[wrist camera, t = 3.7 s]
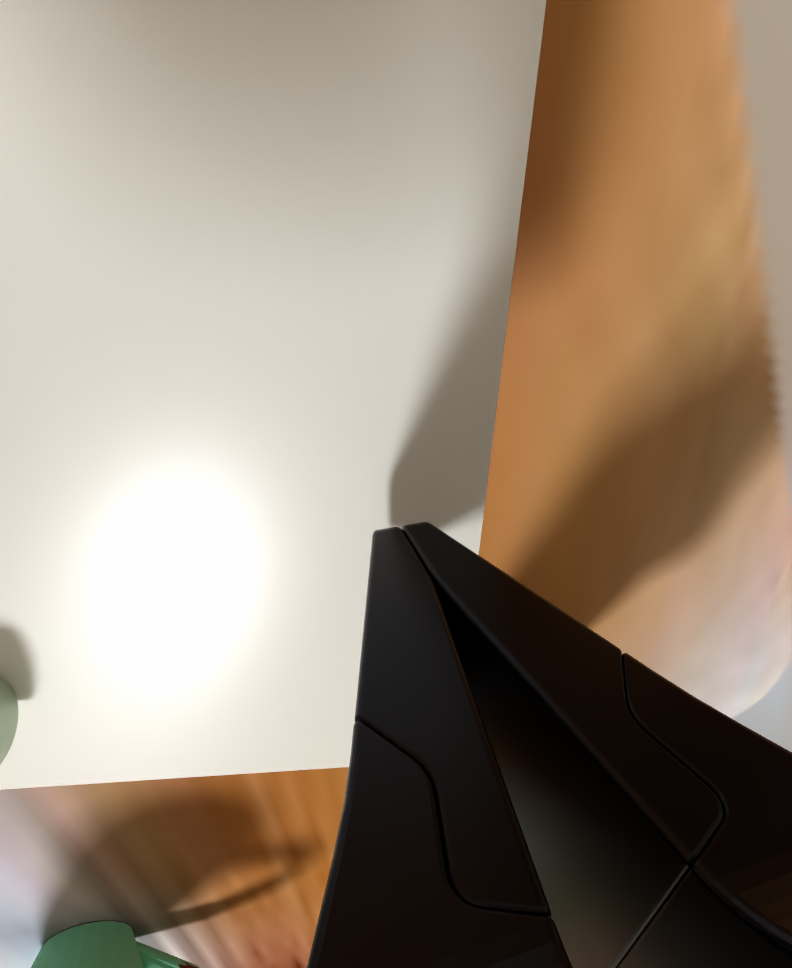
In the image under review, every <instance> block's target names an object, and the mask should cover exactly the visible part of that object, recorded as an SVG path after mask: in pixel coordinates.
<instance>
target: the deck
mask: <svg viewBox="0 0 792 968" xmlns="http://www.w3.org/2000/svg"><path fill="white" fill-rule="evenodd" d="M545 8H546V0H0V790H1V789H16V788H31V787H47V786H62V785H78V784H93V783H108V782H124V781H139V780H155V779H170V778H185V777H201V776H216V775H232V774H247V773H263V772H278V771H293V770H309V769H324V768H340V767H349V763H350V756H351V746H352V735H353V726H354V724H355V709H356V698H357V688H358V678H359V668H360V658H361V647H362V637H363V627H364V617H365V607H366V596H367V586H368V576H369V566H370V556H371V545H372V536H373V533H374V531H375V530H379V529H385V528H391V527H399V528H402V527H403V526H404V525H408V524H414V523H420V522H428V523H430V524H432V525H434V526H435V527H437V528H438V529H440V530H441V531H443V532H444V533H446V534H447V535H449V536H450V537H452V538H453V539H455V540H456V541H458V542H459V543H461V544H462V545H464V546H465V547H467V548H468V549H470V550H471V551H473V552H474V553H476V554H477V555H479V547H480V539H481V531H482V522H483V514H484V506H485V498H486V490H487V482H488V473H489V465H490V457H491V449H492V441H493V433H494V424H495V416H496V408H497V400H498V392H499V384H500V376H501V367H502V359H503V351H504V343H505V335H506V327H507V318H508V310H509V302H510V294H511V286H512V278H513V269H514V261H515V253H516V245H517V237H518V229H519V221H520V212H521V204H522V196H523V188H524V180H525V172H526V163H527V155H528V147H529V139H530V131H531V123H532V114H533V106H534V98H535V90H536V82H537V74H538V66H539V57H540V49H541V41H542V33H543V25H544V17H545Z"/></svg>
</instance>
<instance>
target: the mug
mask: <svg viewBox="0 0 792 968" xmlns="http://www.w3.org/2000/svg"><path fill="white" fill-rule="evenodd" d="M31 968H199V966H197V965H195V964H192V963H190V962H187V961H185V960H182V959H180V958H177V957H175V956H172V955H170V954H167V953H165V952H162V951H160V950H157V949H155V948H152V947H150V946H147V945H145V944H142V943H140V942H137V941H136V940H135V936H134V933H133V930H132V928H131V926H129V925H128V924H126V923H123V922H117V921H99V922H92V923H86V924H82V925H79V926H75V927H72V928H69V929H67V930H64V931H62V932H60V933H58V934H56V935H55V936H53V937H51V938H50V939H48V941H47V942H46V943H45V944H44V945H43V946H42V948H41V950H40V952H39V954H38V956H37V957H36V959H35V961H34V963H33V965H32V967H31Z"/></svg>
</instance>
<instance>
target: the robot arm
mask: <svg viewBox="0 0 792 968" xmlns="http://www.w3.org/2000/svg"><path fill="white" fill-rule="evenodd" d="M307 968H792V752H790V751H788V750H786V749H784V748H783V747H781V746H779V745H777V744H776V743H774V742H772V741H770V740H768V739H766V738H765V737H763V736H761V735H759V734H758V733H756V732H754V731H752V730H750V729H749V728H747V727H745V726H743V725H742V724H740V723H738V722H736V721H735V720H733V719H731V718H730V717H728V716H726V715H724V714H723V713H721V712H719V711H718V710H716V709H714V708H712V707H711V706H709V705H707V704H706V703H704V702H702V701H700V700H699V699H697V698H695V697H694V696H692V695H691V694H689V693H687V692H686V691H684V690H683V689H681V688H680V687H678V686H676V685H675V684H673V683H672V682H670V681H668V680H667V679H665V678H664V677H662V676H661V675H659V674H657V673H656V672H654V671H653V670H651V669H650V668H648V667H647V666H645V665H644V664H642V663H641V662H639V661H638V660H636V659H635V658H633V657H632V656H630V655H629V654H627V653H624V654H622V653H621V650H620V649H619V648H618V647H616V646H615V645H613V644H612V643H610V642H609V641H607V640H606V639H604V638H603V637H601V636H600V635H598V634H597V633H595V632H593V631H592V630H590V629H589V628H587V627H586V626H584V625H583V624H581V623H580V622H578V621H577V620H575V619H574V618H572V617H571V616H569V615H568V614H566V613H565V612H563V611H562V610H560V609H559V608H557V607H556V606H554V605H553V604H551V603H550V602H548V601H547V600H545V599H544V598H542V597H541V596H539V595H538V594H536V593H535V592H533V591H532V590H530V589H529V588H527V587H526V586H524V585H523V584H521V583H520V582H518V581H517V580H515V579H514V578H512V577H511V576H509V575H508V574H506V573H505V572H503V571H502V570H500V569H498V568H497V567H495V566H494V565H492V564H491V563H489V562H488V561H486V560H485V559H483V558H482V557H480V556H479V555H477V554H476V553H474V552H473V551H471V550H470V549H468V548H467V547H465V546H464V545H462V544H461V543H459V542H458V541H456V540H455V539H453V538H452V537H450V536H449V535H447V534H446V533H444V532H443V531H441V530H440V529H438V528H437V527H435V526H434V525H432V524H430V523H428V522H420V523H414V524H408V525H404V526H403V527H402V528H399V527H391V528H385V529H379V530H375V531H374V533H373V536H372V545H371V556H370V566H369V576H368V586H367V596H366V607H365V617H364V627H363V637H362V647H361V658H360V668H359V678H358V688H357V698H356V709H355V724H354V726H353V735H352V746H351V756H350V763H349V771H348V778H347V785H346V793H345V800H344V806H343V810H342V815H341V820H340V825H339V830H338V835H337V840H336V845H335V850H334V855H333V859H332V864H331V868H330V872H329V876H328V881H327V885H326V889H325V893H324V898H323V902H322V906H321V910H320V915H319V919H318V923H317V927H316V932H315V936H314V940H313V944H312V949H311V953H310V957H309V961H308V966H307Z"/></svg>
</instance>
